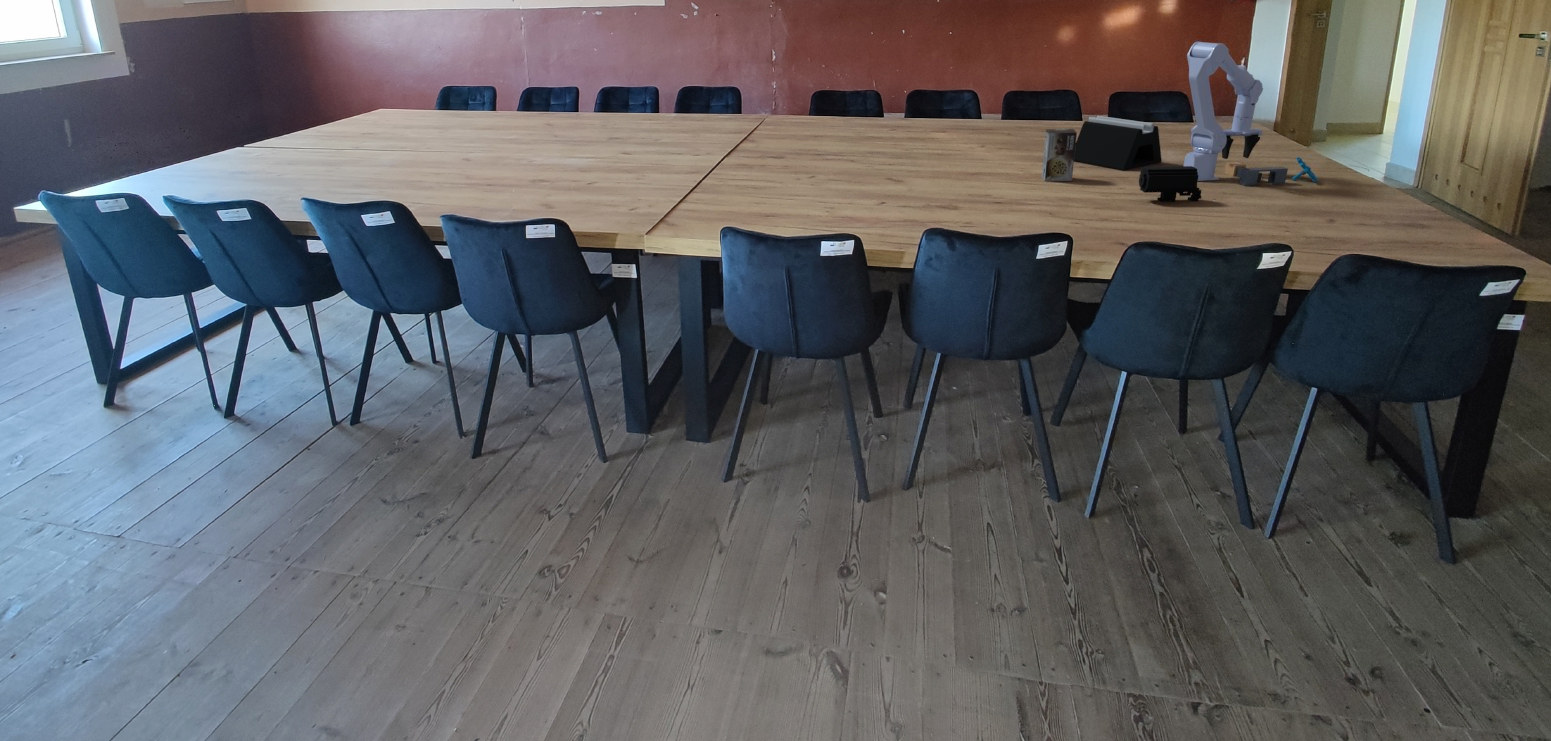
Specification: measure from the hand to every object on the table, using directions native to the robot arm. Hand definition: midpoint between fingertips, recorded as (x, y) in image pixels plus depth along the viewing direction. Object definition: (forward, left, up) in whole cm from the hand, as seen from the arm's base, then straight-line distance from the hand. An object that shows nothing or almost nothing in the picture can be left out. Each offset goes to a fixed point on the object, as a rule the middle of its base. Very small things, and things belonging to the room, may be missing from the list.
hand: (1235, 158), depth 307 cm
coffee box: (-61, +5, -6) cm, 61 cm away
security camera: (-40, -30, -6) cm, 51 cm away
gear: (+16, -15, -6) cm, 22 cm away
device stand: (-29, +27, -6) cm, 40 cm away
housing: (0, -16, -5) cm, 17 cm away
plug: (0, -6, -5) cm, 8 cm away
